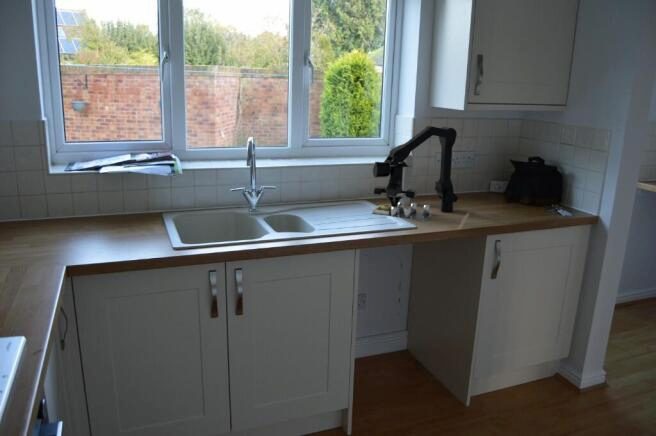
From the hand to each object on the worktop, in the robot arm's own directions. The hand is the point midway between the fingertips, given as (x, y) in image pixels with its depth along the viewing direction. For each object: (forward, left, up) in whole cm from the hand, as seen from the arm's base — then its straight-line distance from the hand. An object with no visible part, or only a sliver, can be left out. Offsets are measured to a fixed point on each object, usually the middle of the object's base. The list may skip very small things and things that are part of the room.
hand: (394, 210), depth 238 cm
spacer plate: (0, +4, -2) cm, 4 cm away
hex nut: (0, -4, -1) cm, 4 cm away
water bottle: (-22, -2, -2) cm, 22 cm away
